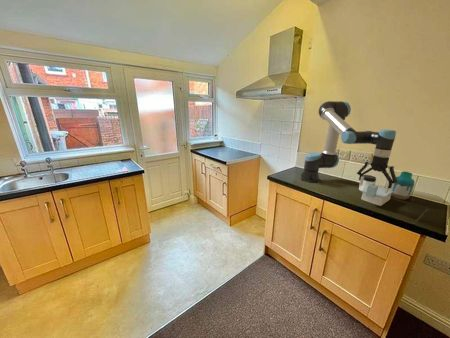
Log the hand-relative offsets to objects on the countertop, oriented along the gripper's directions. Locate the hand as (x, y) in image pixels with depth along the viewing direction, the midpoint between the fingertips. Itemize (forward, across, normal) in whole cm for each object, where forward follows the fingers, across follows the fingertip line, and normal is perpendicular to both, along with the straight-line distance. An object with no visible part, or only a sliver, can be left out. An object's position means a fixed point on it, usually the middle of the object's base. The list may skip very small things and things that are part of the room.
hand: (372, 189), depth 119 cm
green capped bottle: (+12, +7, +30) cm, 33 cm away
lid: (+6, 0, +9) cm, 11 cm away
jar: (+11, -10, +23) cm, 28 cm away
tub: (+11, 0, +12) cm, 16 cm away
